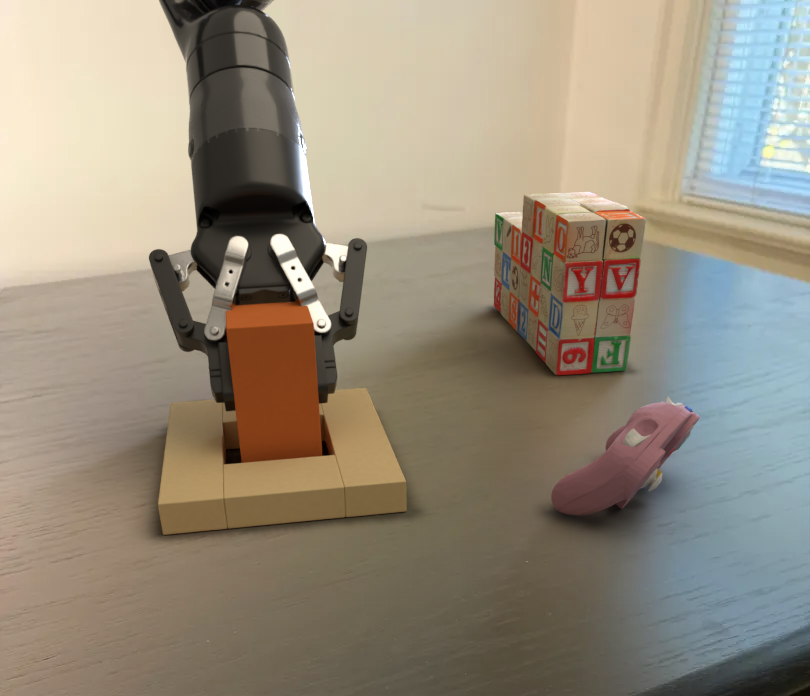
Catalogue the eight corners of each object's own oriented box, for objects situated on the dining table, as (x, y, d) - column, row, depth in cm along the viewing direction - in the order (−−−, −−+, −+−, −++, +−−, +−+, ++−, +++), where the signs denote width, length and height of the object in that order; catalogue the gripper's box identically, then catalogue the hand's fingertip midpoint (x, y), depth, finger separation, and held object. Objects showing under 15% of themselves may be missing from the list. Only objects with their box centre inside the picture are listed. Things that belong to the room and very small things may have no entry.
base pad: (162, 535, 50) (157, 504, 49) (174, 428, 64) (170, 402, 63) (406, 511, 52) (406, 481, 51) (367, 413, 66) (366, 387, 65)
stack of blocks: (491, 307, 91) (495, 178, 84) (550, 304, 91) (559, 176, 85) (556, 376, 72) (568, 218, 66) (629, 371, 73) (647, 214, 67)
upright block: (244, 486, 55) (226, 328, 50) (242, 453, 60) (225, 305, 55) (323, 478, 56) (313, 322, 51) (316, 447, 60) (305, 300, 56)
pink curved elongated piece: (602, 554, 51) (671, 466, 46) (539, 504, 51) (601, 414, 47) (660, 488, 58) (725, 407, 53) (604, 446, 59) (663, 362, 54)
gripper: (354, 196, 63) (386, 417, 58) (146, 206, 61) (164, 436, 56) (361, 119, 56) (399, 365, 51) (126, 127, 53) (145, 384, 49)
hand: (276, 401), depth 54 cm, fingers closed on upright block, 5 cm apart
